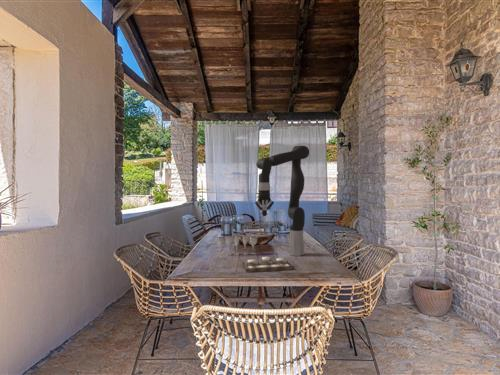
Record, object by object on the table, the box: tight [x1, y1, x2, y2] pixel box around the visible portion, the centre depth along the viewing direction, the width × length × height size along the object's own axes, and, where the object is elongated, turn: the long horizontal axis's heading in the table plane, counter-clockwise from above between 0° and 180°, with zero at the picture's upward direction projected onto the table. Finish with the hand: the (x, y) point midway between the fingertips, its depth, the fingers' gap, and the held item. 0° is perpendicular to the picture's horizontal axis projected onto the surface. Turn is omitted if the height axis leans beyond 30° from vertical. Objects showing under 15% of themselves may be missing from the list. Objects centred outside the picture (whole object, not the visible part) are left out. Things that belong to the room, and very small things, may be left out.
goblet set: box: [216, 234, 258, 256], centre depth 263 cm, size 28×6×13 cm, turn 92°
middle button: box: [261, 256, 271, 261], centre depth 229 cm, size 5×5×2 cm
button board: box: [241, 257, 294, 273], centre depth 227 cm, size 28×16×4 cm, turn 101°
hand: (264, 216), depth 245 cm, fingers closed
